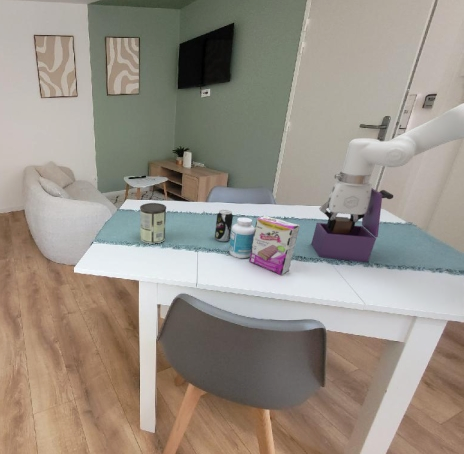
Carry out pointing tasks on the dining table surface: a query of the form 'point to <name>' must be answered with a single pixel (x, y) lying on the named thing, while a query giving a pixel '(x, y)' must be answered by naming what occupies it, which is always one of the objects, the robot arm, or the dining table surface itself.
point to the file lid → (375, 211)
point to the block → (342, 225)
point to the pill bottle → (242, 238)
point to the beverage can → (223, 225)
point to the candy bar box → (273, 244)
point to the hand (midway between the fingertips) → (338, 229)
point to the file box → (343, 243)
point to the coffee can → (153, 222)
